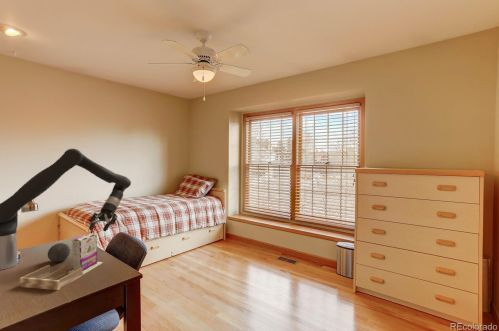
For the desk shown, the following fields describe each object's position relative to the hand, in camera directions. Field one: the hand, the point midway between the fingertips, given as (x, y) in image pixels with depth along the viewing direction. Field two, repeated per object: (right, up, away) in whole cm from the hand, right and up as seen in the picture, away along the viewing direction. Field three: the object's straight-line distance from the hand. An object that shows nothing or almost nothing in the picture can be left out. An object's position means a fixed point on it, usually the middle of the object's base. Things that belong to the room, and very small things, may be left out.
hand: (97, 230), depth 143 cm
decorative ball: (-21, -18, 0) cm, 27 cm away
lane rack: (-8, -18, -21) cm, 29 cm away
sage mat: (-2, -18, -8) cm, 19 cm away
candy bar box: (-2, -18, -8) cm, 19 cm away
